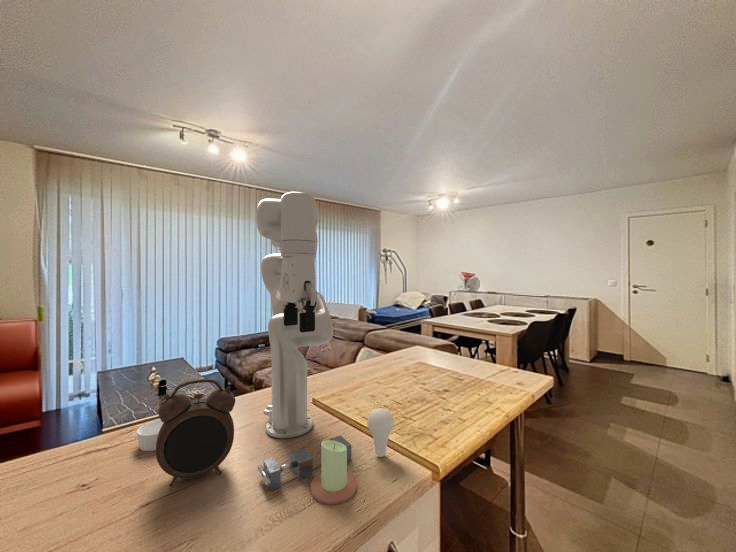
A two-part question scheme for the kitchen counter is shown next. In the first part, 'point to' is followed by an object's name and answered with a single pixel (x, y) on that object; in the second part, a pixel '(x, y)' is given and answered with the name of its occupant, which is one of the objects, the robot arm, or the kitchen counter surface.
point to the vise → (294, 465)
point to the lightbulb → (380, 429)
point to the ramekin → (149, 435)
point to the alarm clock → (195, 432)
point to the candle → (333, 465)
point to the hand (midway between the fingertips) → (298, 328)
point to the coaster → (333, 497)
